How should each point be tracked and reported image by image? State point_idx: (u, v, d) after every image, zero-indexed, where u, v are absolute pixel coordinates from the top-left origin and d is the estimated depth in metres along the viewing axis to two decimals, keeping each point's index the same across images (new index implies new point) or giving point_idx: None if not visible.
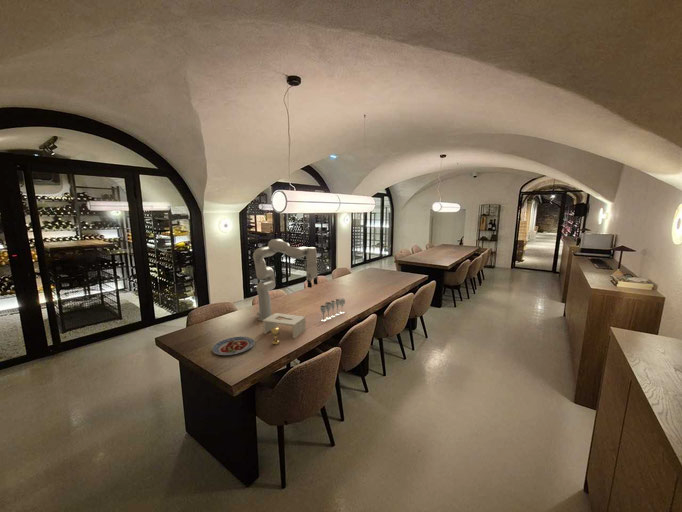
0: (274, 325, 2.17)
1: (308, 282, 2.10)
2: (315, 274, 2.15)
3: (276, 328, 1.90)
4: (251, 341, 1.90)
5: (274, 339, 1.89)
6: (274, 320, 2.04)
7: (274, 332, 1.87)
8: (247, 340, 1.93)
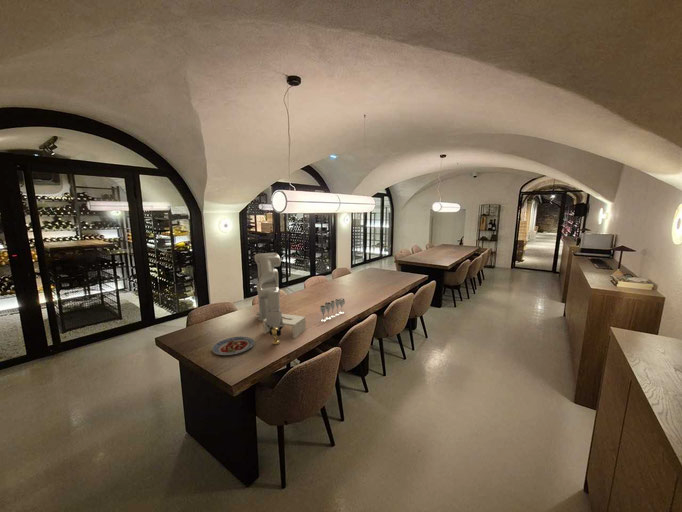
0: None
1: (279, 330, 1.87)
2: None
3: (276, 328, 1.90)
4: (251, 341, 1.90)
5: (274, 339, 1.89)
6: None
7: (274, 332, 1.87)
8: (247, 340, 1.93)
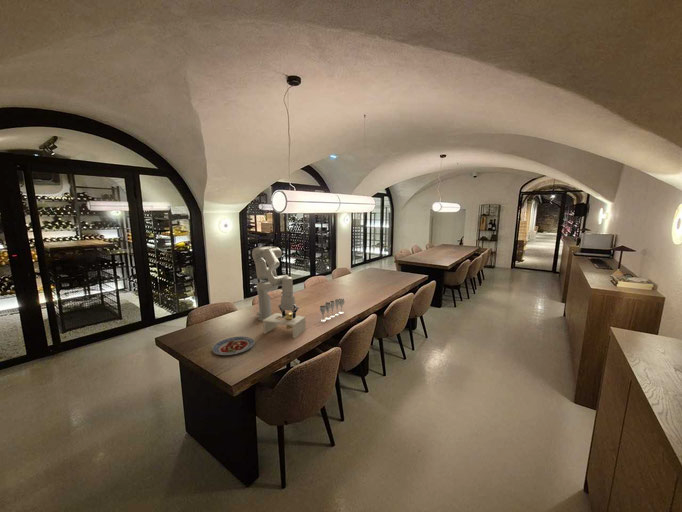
0: (274, 325, 2.17)
1: (294, 313, 2.04)
2: None
3: (289, 313, 2.07)
4: (251, 341, 1.90)
5: None
6: (274, 320, 2.04)
7: (288, 317, 2.04)
8: (247, 340, 1.93)
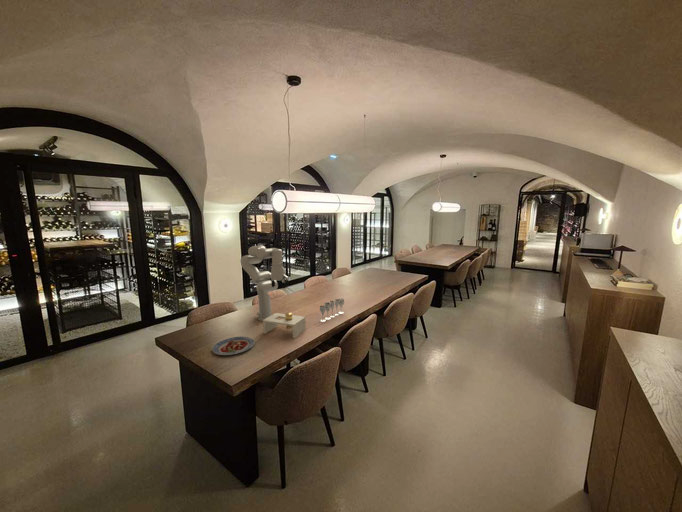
0: (274, 325, 2.17)
1: (284, 282, 2.15)
2: None
3: (289, 313, 2.07)
4: (251, 341, 1.90)
5: None
6: (274, 320, 2.04)
7: (288, 317, 2.04)
8: (247, 340, 1.93)
